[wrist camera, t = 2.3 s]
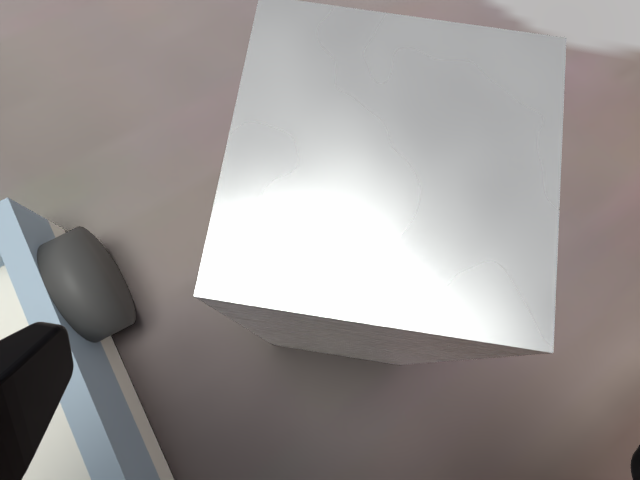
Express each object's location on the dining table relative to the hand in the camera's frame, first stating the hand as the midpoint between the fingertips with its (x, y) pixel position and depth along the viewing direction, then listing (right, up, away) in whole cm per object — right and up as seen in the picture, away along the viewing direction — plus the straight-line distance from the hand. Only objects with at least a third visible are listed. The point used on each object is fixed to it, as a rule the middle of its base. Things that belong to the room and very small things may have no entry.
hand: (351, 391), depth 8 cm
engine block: (0, 0, +11) cm, 11 cm away
